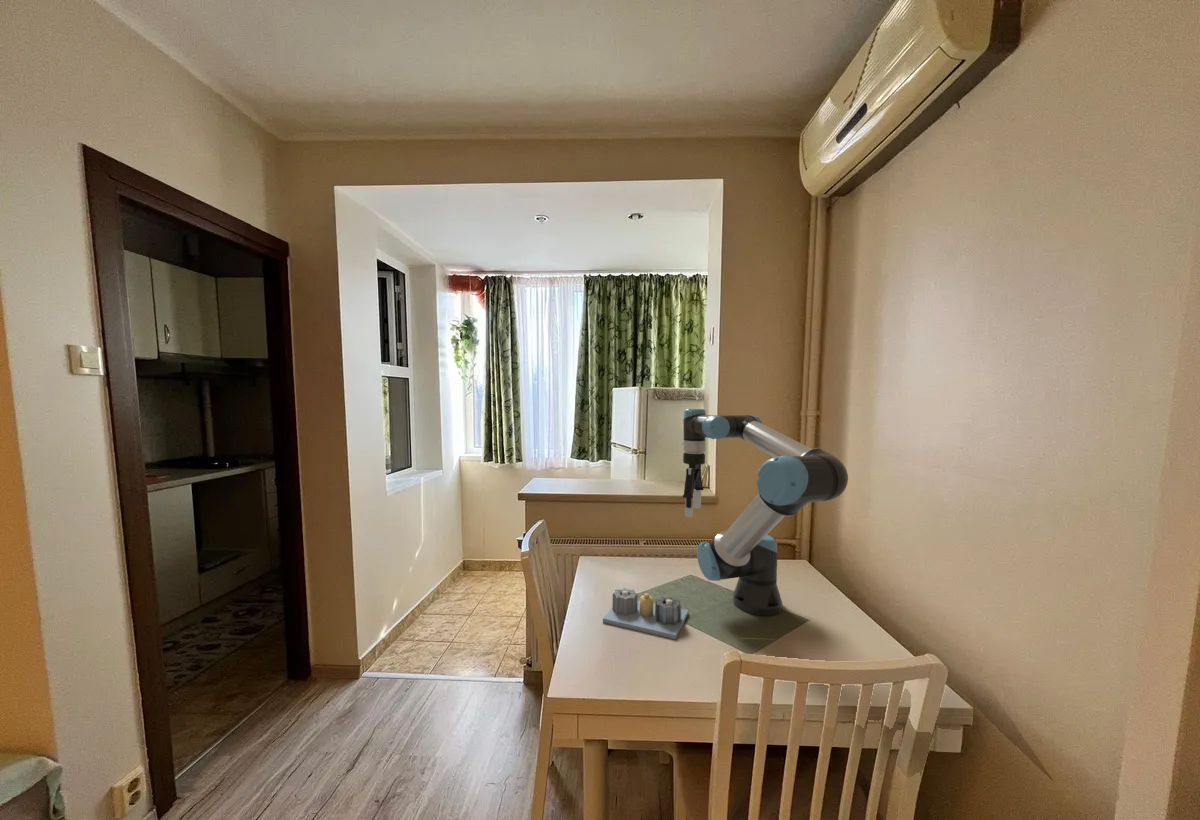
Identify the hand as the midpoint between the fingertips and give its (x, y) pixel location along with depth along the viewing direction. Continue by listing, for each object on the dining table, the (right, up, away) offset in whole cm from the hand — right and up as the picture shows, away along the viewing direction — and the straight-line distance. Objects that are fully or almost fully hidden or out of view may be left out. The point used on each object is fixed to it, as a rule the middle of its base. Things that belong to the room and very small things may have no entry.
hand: (693, 512), depth 154 cm
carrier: (-19, -27, -22) cm, 40 cm away
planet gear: (-13, -26, -25) cm, 38 cm away
